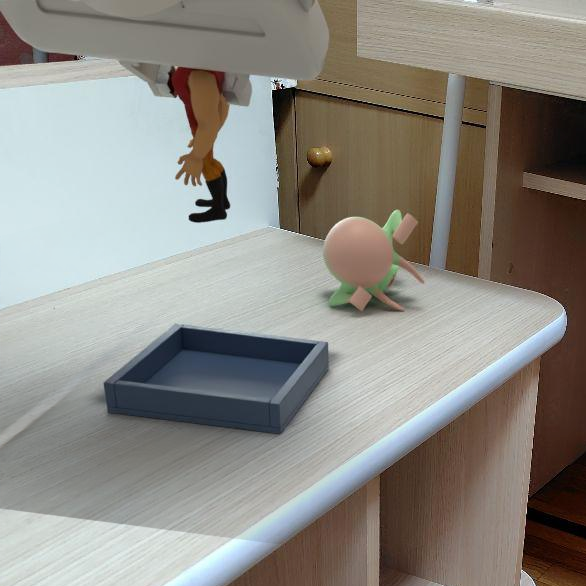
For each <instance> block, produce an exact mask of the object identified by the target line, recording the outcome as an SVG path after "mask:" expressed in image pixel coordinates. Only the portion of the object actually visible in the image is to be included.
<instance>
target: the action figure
mask: <svg viewBox="0 0 586 586" xmlns="http://www.w3.org/2000/svg"><path fill="white" fill-rule="evenodd" d="M175 69H176V70H175V72H174V74H173V75H172V78H171V80H172V84H173V86H174V88H175V90H176V92H177V97H178V98H179V100H180V101H181V102H182V104H183V105H184V111H185V115H186V118H187V121H188V125H189V129H190V134H191V136H192V139H190V140H189V143H188V145H187V146H186V147H187V148H189V149H191V148H192V149H191V151H189V153H186V154H183V155H181V156H180V157H179V158H178V161H177V164H178V166H179V165H182V164H183V165H182V167H181V168H180V169H179V171H178V172H177V173H176V175H175V177H174V178H175V179H174V180H176V181H178V180H180V178H181V177H182V176H183V175H184V179H183V184H184V186H188V185H189V180H190V181H191V185H192V186H193V187H197V185H198V186H200V187H202V186H203V182H202V181H201V176H203V179H204V182H205V185H206V187H207V189H208V192H209V194H210V196H211V199H204V198H197V199H196V201H194V205H195V206H196V207H198V208H209V209H207V210H206V211H202V212H192V213H190V214H188V221H189V222H191V223H198V224H201V223H208V222H215V221H225V220H226V219H227V218H228V212H227V211H228V210H229V209H231V202H230V200H229V198H228V177H227V173H226V168H224V165H223V164H222V162H221V161H219V160H218V159H216V158H214V147H215V142H216V140H217V138H218V135H219V132H220V131H221V129H223V126H224V125H225V122H226V121H227V119H228V117H229V112H230V111H229V110H230V106H231V105H230V104H227V103H226V98H225V97H223V94H222V92H221V87H222V82H224V81H225V78H224V74H225V72H222V71H213V70H204V69H195V68H186V67H177V66H176V68H175Z"/></svg>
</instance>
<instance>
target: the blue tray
mask: <svg viewBox="0 0 586 586" xmlns="http://www.w3.org/2000/svg"><path fill="white" fill-rule="evenodd" d="M329 362H330V361H329V342H328V341H322V340H313V339H306V338H298V337H288V336H281V335H274V334H264V333H259V332H258V333H256V332H250V331H249V332H248V331H242V330H241V331H240V330H233V329H232V330H231V329H223V328H216V327H209V326H200V325H192V324H182V323H175V324H173V325H172V326H171V327H169V328H168V329H167V330H165V332H163V333H162V334H160V335H159V336H158V337H156V339H155V340H154V341H152V342H151V343H150V344H148V345H147V346H146V347H144V349H142V350H141V351H140V352H139V353H138V354H137V355H135V356H134V357H133V358H132V359H131V360H129V361H127V362H126V363H125V364H124V365H123V366H122V367H120V368H119V369H118V370H117V371H116V372H114V373H113V374H112V375H111V376H110V377H108V378H107V379H106V380H105V381H103V389H104V395H105V402H106V410H107V413H109V414H110V413H111V414H116V415H117V414H119V415H126V416H127V415H128V416H134V417H141V418H142V417H143V418H151V419H158V420H165V421H172V422H173V421H174V422H183V423H191V424H197V425H198V424H199V425H205V426H206V425H207V426H214V427H215V426H216V427H221V428H230V429H239V430H247V431H254V432H255V431H256V432H262V433H270V434H279V435H281V434H282V433H283V432H284V430H285V429H286V427H287V426H288V425H289V423H290V422H291V420H292V419H293V418H294V417H295V415H296V414H297V413H298V412H299V410H300V408H302V406H303V404H304V403H305V402H306V400H307V399H308V398H309V396H310V395H311V393H312V392H313V391H314V389H315V388H316V387H317V386H318V384H319V382H320V381H321V380H322V379H323V378H324V376H325V374H326V373H327V372H328V370H329V369H330V365H329Z"/></svg>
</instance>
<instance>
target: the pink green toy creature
mask: <svg viewBox="0 0 586 586" xmlns="http://www.w3.org/2000/svg"><path fill="white" fill-rule="evenodd" d="M418 223H419V221H418V220H417V219H416V218H415V217H414V216H413V215H412V214H410V213H406V215H404V217H403V216H402V212H401V210H400V209H395V210H394V211H393V212H392V213H391V214H390V216H389V218H388V219H387V221H386V223H385V225H384V226H383V227H381V226H380V225H379V224H377V223H376V222H375V221H373V220H370V219H368V218H365V217H361V216H350V217H346V218H343V219H341V220H340V221H338V222H337V223H335V225H334V226H332V227H331V229H330V230H329V232H328V234H327V235H326V237H325V239H324V242H323V245H322V246H323V247H322V257H323V262H324V264H325V266H326V268H327V270H328V272H329V273H330V274H331V275H332V276H333V278H335V279H336V280H337V281H338V282H339V283H341V284H340V286H339V288H338V289H336V291H335V292H334V293H333V294H332V295H331V296H330V298H329V299H328V305H329V306H330V307H336V306H337V307H338V306H341V305H345V304H349V303H350V304H351V305H352V306H354V307H355V308H356V309H358V310H359V311H360V312H363V311H364V309H365V307H366V306H367V305H368V303H369V302H370V300H371V299H372V297H375V298H377V299H378V300H379V301H380V302H382V303H384V304H386V305H387V306H390V307H391V308H394V309H396V310H399V311H402V312H405V307H404V306H401V305H400V304H399V303H396V302H395V301H394V300H392V299H390V298H389V297H388V296H387V295H386V294H385V293H384V291H385V290H386V289H388V288H389V287H390V286H392V284H393V282H395V277H396V276H397V274H398V271H399V268H402V269H404V270H405V271H407V272H408V273H410V275H412V276H413V277H414V278H415V279H416V280H418V281H419V282H420V283H421V284H422V285H425V283H426V282H425V280H424V278H423V277H422V276H421V274H420V273H419V272H418V270H417V269H416V268H415V267H414V266H413V264H412V263H410V262H409V261H407V260H406V259H405V258H404V257H402V256H400V255H399V254H398V253H397V252H396V251H395V249H394V244H393V243H394V242H393V241H394V240H395V241H396V242H397V243H398V244H400V245H402V246H403V245H404V244H405V243H406V241H407V239H408V238H409V236H410V235H411V233H412V232H413V231H414V229H415V227H416V226H417V225H418Z"/></svg>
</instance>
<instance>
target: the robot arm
mask: <svg viewBox="0 0 586 586" xmlns="http://www.w3.org/2000/svg"><path fill="white" fill-rule="evenodd" d="M0 12H1V15H2V16H3V17H4V19H5V20H6V21H7V23H8V24H9V26H10V28H11V29H12V30H13V31H14V33H15V34H16V35H17V36H18V38H19V39H21V41H23V42H25V43H26V44H28V45H29V46H30V47H33V48H34V49H36V50H38V51H41V52H43V53H51V54H52V53H55V54H62V55H72V56H81V57H90V58H96V59H97V58H98V59H108V60H116V61H118V63H119V65H120V66H121V67H123V68H124V69H126V70H127V71H129V72H130V73H132V74H133V75H135V76H136V77H138V78H139V79H140V80H141V81H143V82H145V83H147V85H148V87H149V88H150V90H151V92H152V94H153V96H154V97H156V98H157V97H159V98H171V99H177V97H178V95H177V92H176V90H175V88H174V86H173V84H172V80H171V78H172V75H173V74H174V72H175V71H176V69H177V67H186V68H195V69H204V70H213V71H222V72H225V74H224V78H225V81H224V82H222V87H221V92H222V94H223V97H225V98H226V103H227V104H230V106H239V107H245V108H246V107H249V106H250V102H251V98H252V94H253V85H252V82H251V80H250V76H258V77H268V78H276V79H284V80H294V81H301V82H312V81H314V80H315V79H317V77H319V75H320V74H321V73H322V71H323V70H324V67H325V63H326V60H327V56H328V50H329V43H330V31H329V27H328V23H327V21H326V17H325V16H324V13H323V11H322V8H321V6H320V4H319V1H318V0H0Z"/></svg>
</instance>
